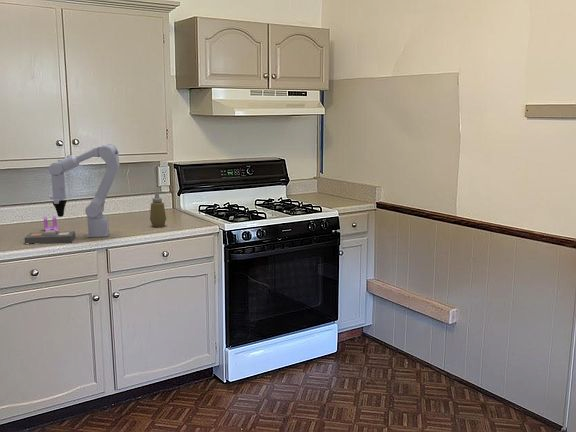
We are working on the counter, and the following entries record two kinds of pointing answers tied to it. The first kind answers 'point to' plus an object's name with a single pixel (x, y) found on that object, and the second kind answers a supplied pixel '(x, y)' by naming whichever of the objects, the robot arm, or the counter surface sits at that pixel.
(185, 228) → the counter surface
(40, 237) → the grey slotted base
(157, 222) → the squeeze bottle
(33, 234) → the terracotta key
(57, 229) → the bracket
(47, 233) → the grey key
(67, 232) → the cream key
